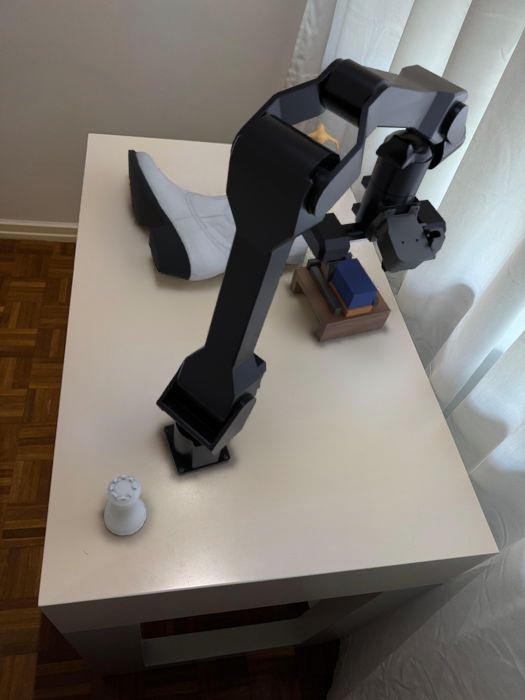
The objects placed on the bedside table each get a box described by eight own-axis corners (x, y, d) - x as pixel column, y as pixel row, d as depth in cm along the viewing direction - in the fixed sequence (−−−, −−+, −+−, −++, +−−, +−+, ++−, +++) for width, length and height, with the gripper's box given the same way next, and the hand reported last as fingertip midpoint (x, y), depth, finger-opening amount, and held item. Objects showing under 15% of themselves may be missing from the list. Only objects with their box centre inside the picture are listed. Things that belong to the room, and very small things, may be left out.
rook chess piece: (131, 489, 64) (130, 457, 58) (154, 520, 63) (155, 490, 56) (95, 513, 62) (90, 482, 56) (119, 545, 60) (116, 517, 54)
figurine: (325, 173, 107) (342, 114, 97) (329, 194, 103) (348, 134, 94) (281, 168, 105) (295, 108, 96) (284, 189, 102) (298, 128, 92)
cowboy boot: (158, 258, 75) (329, 241, 83) (120, 122, 88) (272, 119, 96) (155, 301, 83) (311, 282, 91) (121, 171, 96) (261, 164, 104)
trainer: (370, 312, 81) (379, 292, 78) (345, 317, 80) (354, 297, 77) (342, 267, 86) (350, 246, 83) (318, 271, 85) (325, 250, 81)
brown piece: (382, 328, 85) (395, 303, 81) (319, 342, 82) (329, 317, 77) (349, 275, 91) (360, 249, 87) (289, 286, 87) (297, 260, 83)
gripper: (357, 239, 60) (320, 332, 72) (495, 217, 66) (440, 306, 79) (313, 173, 66) (286, 269, 78) (444, 158, 72) (400, 250, 84)
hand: (355, 275), depth 79 cm, fingers open, 9 cm apart
